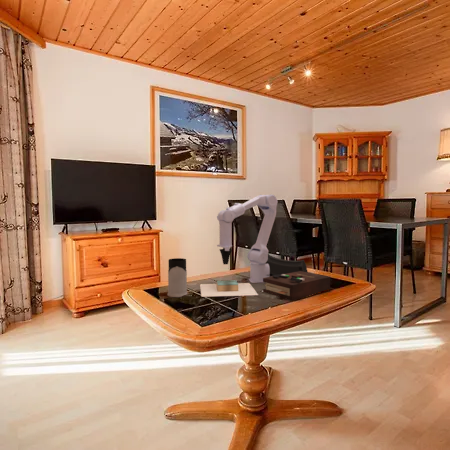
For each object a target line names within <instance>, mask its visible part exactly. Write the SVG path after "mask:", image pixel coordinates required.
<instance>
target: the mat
mask: <svg viewBox="0 0 450 450" xmlns="http://www.w3.org/2000/svg"><path fill="white" fill-rule="evenodd" d="M237 283H238V291H219V292H218V290H217V283H201V284H199V286H200V287H199V288H200V296H201V297H203V298H205V297H207V298H208V297H209V298H210V297H239V296H240V297H241V296H243V297H244V296H259V293H257V291H256V290H255V288H254V287H253V286H252V284H251V282H237Z"/></svg>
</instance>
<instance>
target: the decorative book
mask: <svg viewBox="0 0 450 450" xmlns="http://www.w3.org/2000/svg"><path fill="white" fill-rule="evenodd" d="M268 276H269V275H268ZM265 282H266V283H265ZM262 283H265V284H264V286H265V288H263V289H262V292H264V293H268V294H271V295H274V296H278V297H279V298H281V299H282V298H283V299H285V300H289V301H292V302H293V300H294V301H297V299H298V300H301V299H304V298H303V297H305V298H307V297H306V296H309V295H312V294H315V293H318V292H321V291H324V290H327V289H330V290H331V276H327V275H324V274H323V275H322V274H318V273H317V274H316V273H312V272H303V271H298V272H293V273H287V274H282V275H279V274H278V275H273V274H272V275H270V277H266V278H263V282H262ZM309 297H310V296H309ZM300 298H301V299H300Z"/></svg>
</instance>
